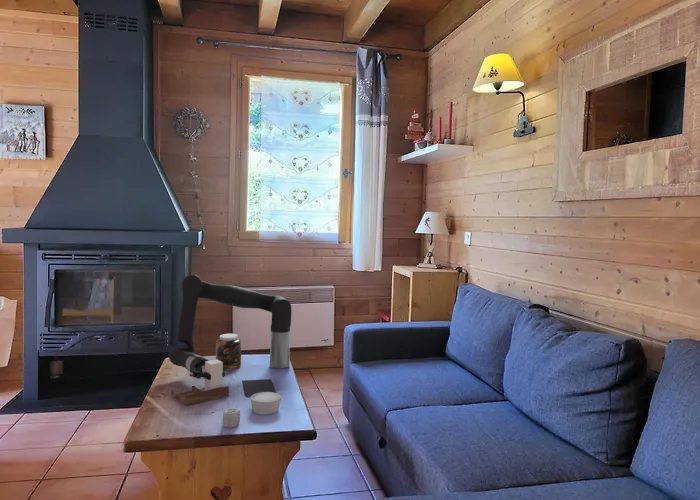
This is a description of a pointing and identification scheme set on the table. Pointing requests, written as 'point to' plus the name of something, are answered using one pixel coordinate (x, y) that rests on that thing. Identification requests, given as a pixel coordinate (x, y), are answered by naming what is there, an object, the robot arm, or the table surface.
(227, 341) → the jar
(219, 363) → the cream block
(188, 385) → the table surface
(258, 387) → the notebook
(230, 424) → the die
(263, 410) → the ramekin
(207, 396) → the lane rack
